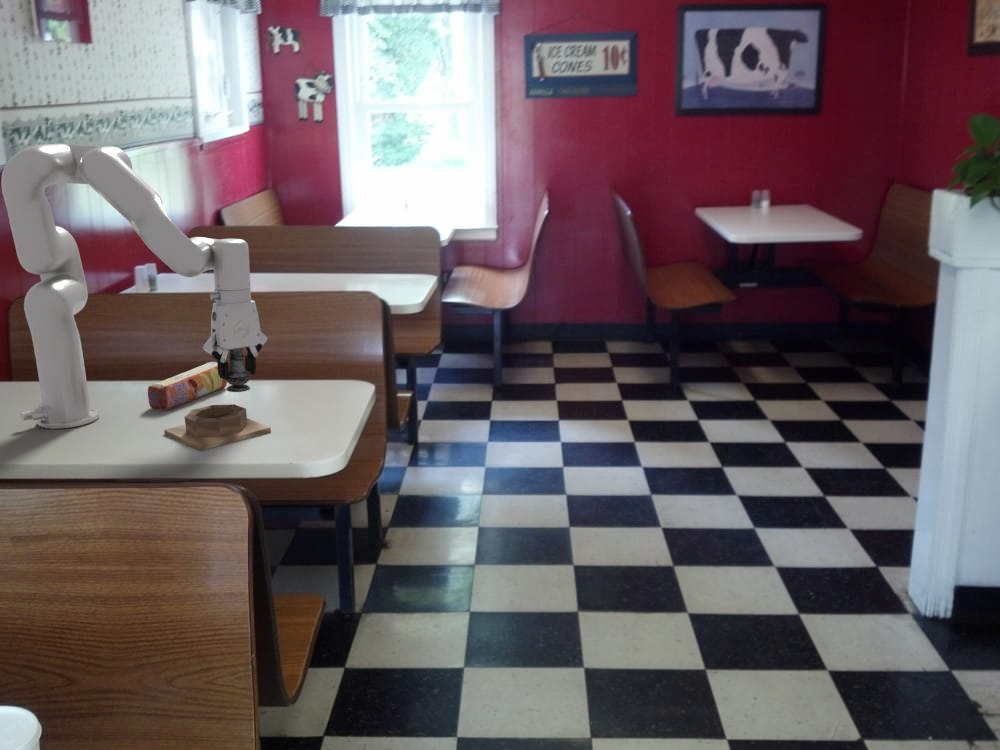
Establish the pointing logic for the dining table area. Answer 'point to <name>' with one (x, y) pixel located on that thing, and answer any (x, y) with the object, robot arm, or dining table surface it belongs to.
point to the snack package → (185, 387)
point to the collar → (216, 427)
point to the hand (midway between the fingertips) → (237, 375)
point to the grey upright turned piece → (237, 372)
